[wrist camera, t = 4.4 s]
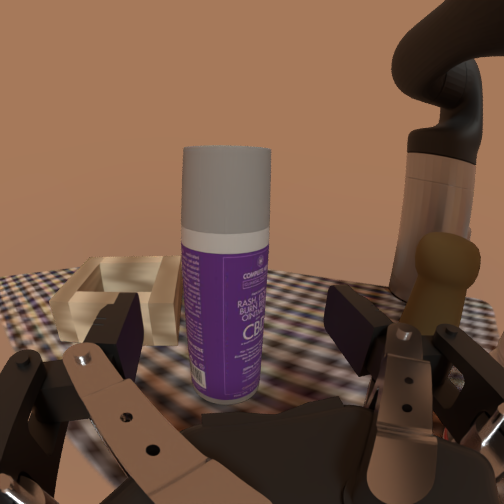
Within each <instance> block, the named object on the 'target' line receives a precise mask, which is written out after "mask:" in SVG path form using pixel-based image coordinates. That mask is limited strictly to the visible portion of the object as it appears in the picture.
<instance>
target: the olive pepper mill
mask: <svg viewBox="0 0 504 504" xmlns="http://www.w3.org/2000/svg"><path fill="white" fill-rule="evenodd" d="M480 259H481V256H480V252H479V249H478V248H477V247H476V245H475V244H474V243H472V242H470V241H469V240H467V239H465V238H463V237H461V236H458V235H455V234H451V233H445V232H430V233H428V234H426V235H424V236H423V237H422V238H421V240H420V241H419V243H418V245H417V248H416V252H415V268H416V271H417V273H418V276H417V279H416V282H415V284H414V287H413V289H412V292H411V294H410V297H409V299H408V302H407V304H406V306H405V309H404V311H403V313H402V316H401V318H400V320H399V322H398V323H406V324H410V325H412V326H414V327H415V328H417V329H418V330H419V331H420V333H421V335H434V333H435V330H436V327H437V326H438V325H439V324H451V325H454V326H457V327H458V328H459V324H460V320H461V316H462V311H463V306H464V301H465V296H466V291H467V289H468V288H469V287H470V286H471V285H472V284H473V283H474V282H475V280H476V278H477V276H478V273H479V269H480V261H481V260H480Z"/></svg>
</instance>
